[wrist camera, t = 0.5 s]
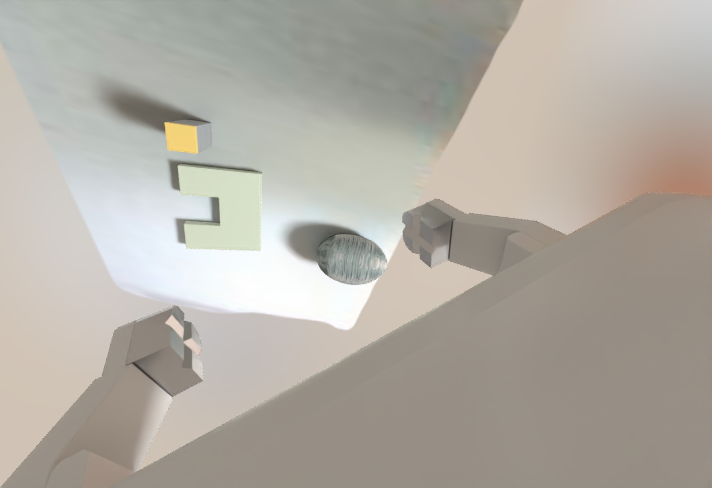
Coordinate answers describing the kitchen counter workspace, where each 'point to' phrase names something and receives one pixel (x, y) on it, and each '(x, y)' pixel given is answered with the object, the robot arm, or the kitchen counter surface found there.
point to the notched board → (224, 207)
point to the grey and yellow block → (188, 135)
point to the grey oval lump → (351, 259)
